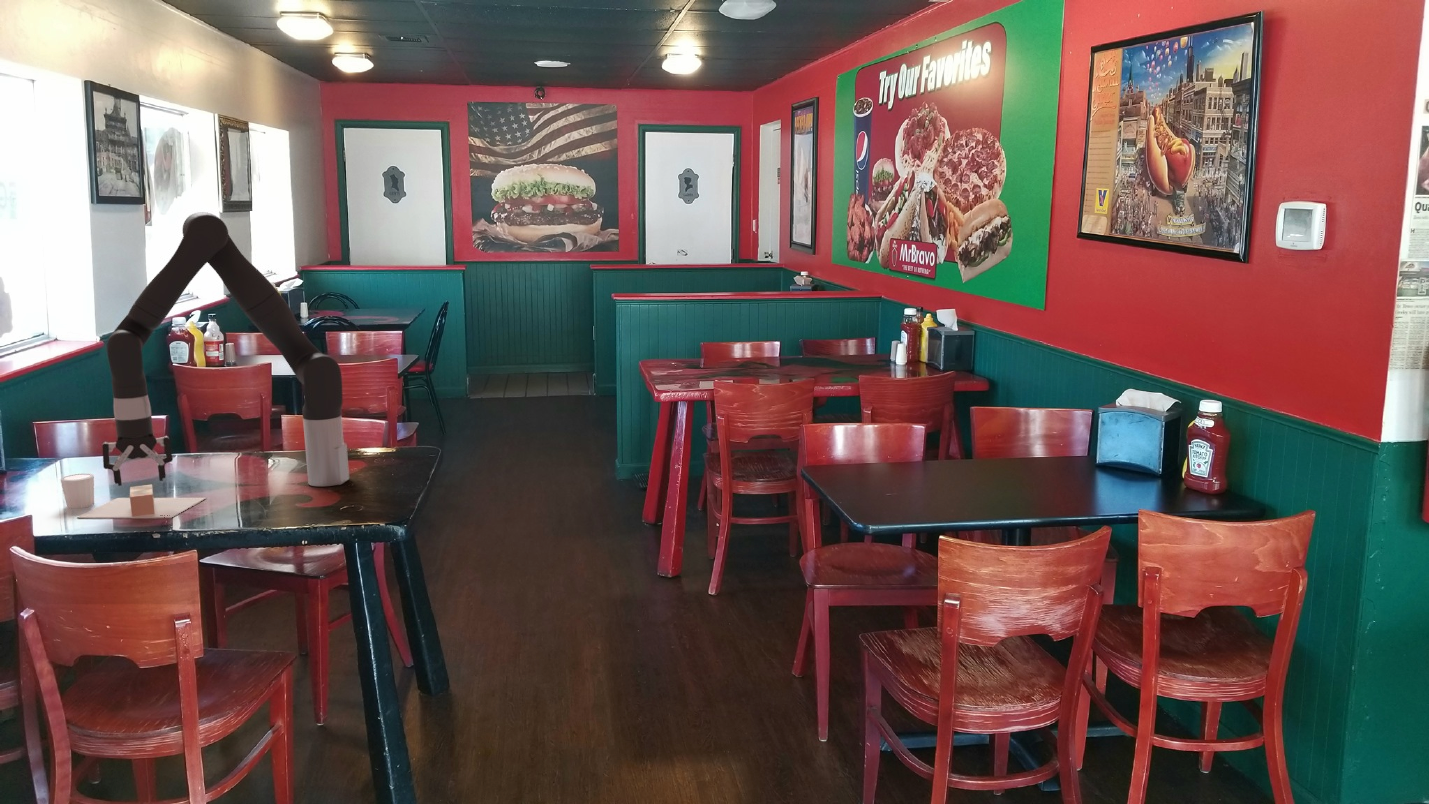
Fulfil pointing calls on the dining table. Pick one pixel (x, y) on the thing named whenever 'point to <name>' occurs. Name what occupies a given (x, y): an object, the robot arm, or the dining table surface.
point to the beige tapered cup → (78, 490)
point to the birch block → (142, 500)
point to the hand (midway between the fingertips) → (140, 482)
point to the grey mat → (123, 510)
